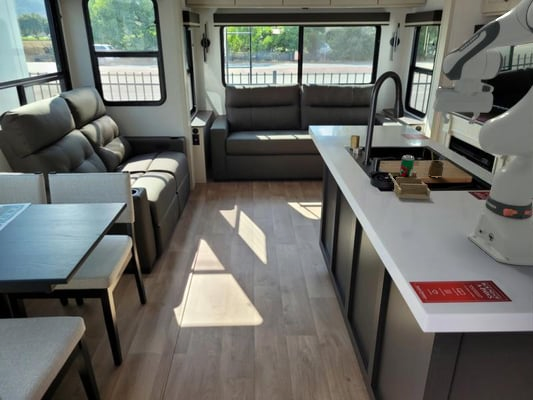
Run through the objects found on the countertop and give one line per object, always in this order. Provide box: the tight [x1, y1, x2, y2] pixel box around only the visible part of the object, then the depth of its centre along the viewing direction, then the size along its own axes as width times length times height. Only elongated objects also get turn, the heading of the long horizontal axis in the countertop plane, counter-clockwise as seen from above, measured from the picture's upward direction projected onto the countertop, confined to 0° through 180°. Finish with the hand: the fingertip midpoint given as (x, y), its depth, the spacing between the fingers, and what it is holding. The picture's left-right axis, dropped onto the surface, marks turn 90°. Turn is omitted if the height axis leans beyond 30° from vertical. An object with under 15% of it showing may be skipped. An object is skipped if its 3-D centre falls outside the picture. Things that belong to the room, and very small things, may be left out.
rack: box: [387, 170, 431, 200], centre depth 162 cm, size 20×12×5 cm, turn 176°
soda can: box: [399, 154, 415, 178], centre depth 164 cm, size 5×5×12 cm
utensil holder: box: [428, 150, 446, 177], centre depth 176 cm, size 6×6×12 cm
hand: (458, 123), depth 147 cm, fingers open, 8 cm apart
